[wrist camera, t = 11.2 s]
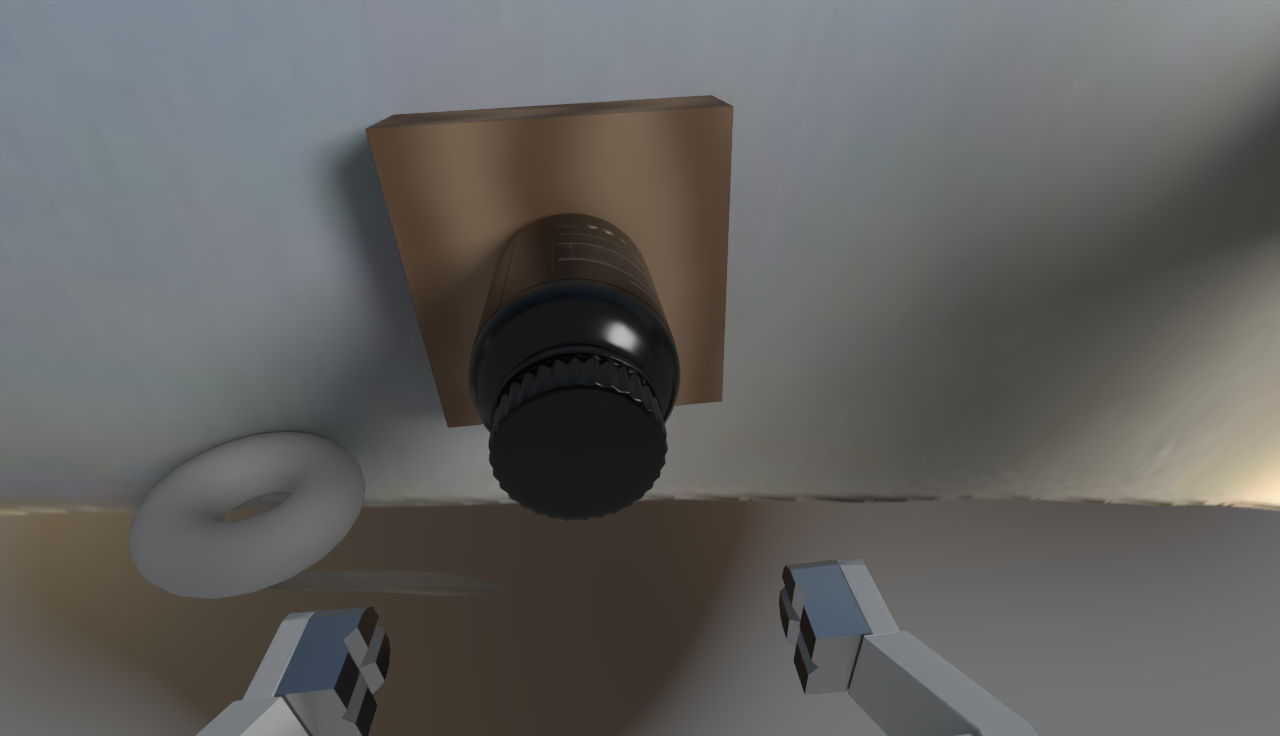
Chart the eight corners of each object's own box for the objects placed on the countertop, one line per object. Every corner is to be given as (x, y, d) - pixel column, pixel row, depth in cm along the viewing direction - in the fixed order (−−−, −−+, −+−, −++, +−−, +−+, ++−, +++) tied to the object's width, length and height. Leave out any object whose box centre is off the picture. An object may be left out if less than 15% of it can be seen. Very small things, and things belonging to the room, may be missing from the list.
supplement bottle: (612, 370, 28) (635, 571, 17) (475, 320, 26) (411, 517, 15) (677, 246, 25) (751, 401, 15) (528, 179, 23) (491, 305, 12)
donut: (213, 468, 33) (90, 621, 25) (193, 420, 31) (52, 567, 23) (392, 464, 34) (333, 609, 26) (382, 418, 32) (315, 557, 24)
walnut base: (711, 95, 25) (733, 106, 22) (706, 362, 33) (721, 401, 29) (393, 114, 25) (365, 129, 21) (461, 384, 32) (448, 427, 28)
